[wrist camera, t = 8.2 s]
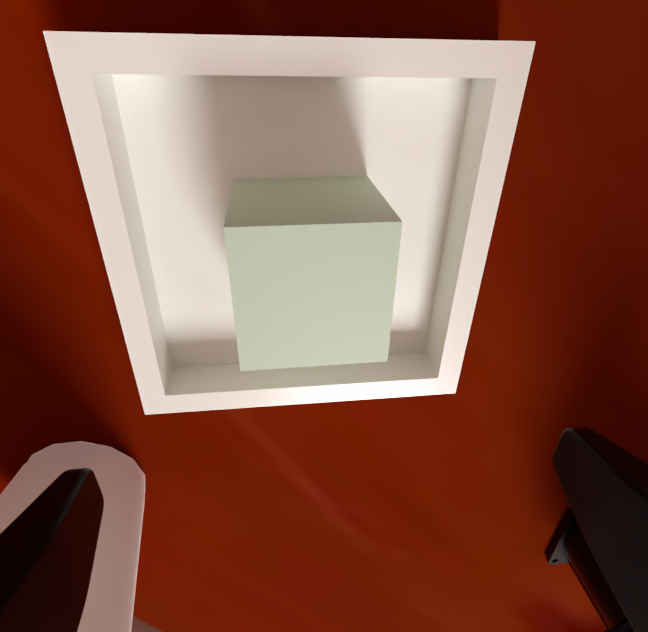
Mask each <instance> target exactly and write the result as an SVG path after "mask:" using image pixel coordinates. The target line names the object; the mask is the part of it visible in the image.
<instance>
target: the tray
mask: <svg viewBox="0 0 648 632" xmlns="http://www.w3.org/2000/svg"><path fill="white" fill-rule="evenodd" d="M43 34H44V38H45V41H46V45H47V49H48V53H49V56H50V60H51V64H52V68H53V71H54V75H55V79H56V83H57V86H58V90H59V94H60V98H61V101H62V105H63V109H64V113H65V116H66V120H67V124H68V128H69V131H70V135H71V139H72V143H73V146H74V150H75V154H76V158H77V161H78V165H79V169H80V173H81V176H82V180H83V184H84V188H85V191H86V195H87V199H88V203H89V206H90V210H91V214H92V218H93V221H94V225H95V229H96V233H97V236H98V240H99V244H100V248H101V251H102V255H103V259H104V263H105V266H106V270H107V274H108V278H109V281H110V285H111V289H112V293H113V296H114V300H115V304H116V308H117V311H118V315H119V319H120V323H121V326H122V330H123V334H124V338H125V341H126V345H127V349H128V353H129V356H130V360H131V364H132V368H133V371H134V375H135V379H136V383H137V386H138V390H139V394H140V398H141V401H142V405H143V409H144V413H145V415H147V414H162V413H176V412H191V411H206V410H220V409H235V408H249V407H264V406H278V405H293V404H307V403H322V402H336V401H351V400H365V399H380V398H394V397H409V396H423V395H438V394H452V393H456V388H457V384H458V380H459V375H460V371H461V367H462V362H463V358H464V353H465V349H466V345H467V340H468V336H469V332H470V327H471V323H472V318H473V314H474V310H475V305H476V301H477V297H478V292H479V288H480V283H481V279H482V275H483V270H484V266H485V262H486V257H487V253H488V248H489V244H490V240H491V235H492V231H493V227H494V222H495V218H496V213H497V209H498V205H499V200H500V196H501V192H502V187H503V183H504V178H505V174H506V170H507V165H508V161H509V157H510V152H511V148H512V144H513V139H514V135H515V130H516V126H517V122H518V117H519V113H520V109H521V104H522V100H523V95H524V91H525V87H526V82H527V78H528V74H529V69H530V65H531V60H532V56H533V52H534V47H535V43H536V41H494V40H447V39H400V38H353V37H306V36H259V35H212V34H165V33H118V32H71V31H43ZM338 176H368V177H369V179H370V180H371V181H372V183H373V184H374V185H375V186H376V188H377V189H378V190H379V192H380V193H381V194H382V196H383V197H384V198H385V199H386V201H387V202H388V203H389V205H390V206H391V207H392V209H393V210H394V211H395V213H396V214H397V215H398V216H399V218H400V219H401V220H402V230H401V240H400V249H399V259H398V268H397V277H396V287H395V296H394V306H393V315H392V325H391V334H390V343H389V353H388V361H386V362H371V363H356V364H342V365H327V366H312V367H297V368H282V369H267V370H252V371H240V365H239V356H238V348H237V339H236V331H235V322H234V313H233V305H232V296H231V288H230V279H229V270H228V262H227V253H226V245H225V236H224V223H225V218H226V213H227V208H228V203H229V198H230V194H231V189H232V184H233V179H248V178H293V177H338Z"/></svg>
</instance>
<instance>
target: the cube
mask: <svg viewBox="0 0 648 632" xmlns="http://www.w3.org/2000/svg"><path fill="white" fill-rule="evenodd" d="M401 230H402V220H401V219H400V218H399V216H398V215H397V214H396V213H395V211H394V210H393V209H392V207H391V206H390V205H389V203H388V202H387V201H386V199H385V198H384V197H383V196H382V194H381V193H380V192H379V190H378V189H377V188H376V186H375V185H374V184H373V183H372V181H371V180H370V179H369V177H368V176H338V177H293V178H248V179H233V184H232V189H231V194H230V198H229V203H228V208H227V213H226V218H225V223H224V236H225V245H226V253H227V262H228V270H229V279H230V288H231V296H232V305H233V313H234V322H235V331H236V339H237V348H238V356H239V365H240V371H252V370H267V369H282V368H297V367H312V366H327V365H342V364H356V363H371V362H386V361H388V353H389V343H390V334H391V325H392V315H393V306H394V296H395V287H396V277H397V268H398V259H399V249H400V240H401Z"/></svg>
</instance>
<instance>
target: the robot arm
mask: <svg viewBox="0 0 648 632" xmlns="http://www.w3.org/2000/svg"><path fill="white" fill-rule="evenodd" d="M553 465H554V468H555V471H556V473H557V476H558V478H559V480H560V483H561V485H562V487H563V490H564V492H565V494H566V497H567V499H568V501H569V504H570V506H571V510H570V511H569V512H568V513H567V515H566V517H565V519H564V521H563V523H562V525H561V527H560V529H559V531H558V534H557V536H556V538H555V540H554V542H553V544H552V546H551V548H550V550H549V552H548V554H547V556H546V559H547V561H548V563H549V564H551V565H553V564H562V563H569V565H570V566H571V568H572V570H573V572H574V573H575V575H576V577H577V578H578V580H579V582H580V584H581V585H582V587H583V589H584V590H585V592H586V594H587V596H588V597H589V599H590V601H591V602H592V604H593V606H594V608H595V609H596V611H597V613H598V614H599V616H600V618H601V619H602V621H603V623H604V625H605V626H606V628H607V630H606V631H604V632H648V463H646V462H644V461H643V460H641V459H640V458H638V457H636V456H635V455H633V454H631V453H630V452H628V451H626V450H625V449H623V448H621V447H620V446H618V445H617V444H615V443H613V442H612V441H610V440H608V439H607V438H605V437H603V436H602V435H600V434H599V433H597V432H595V431H594V430H592V429H590V428H588V427H572V428H567V429H565V430H564V431H563V433H562V435H561V437H560V440H559V442H558V444H557V447H556V449H555V451H554V454H553ZM103 509H104V498H103V494H102V492H101V489H100V487H99V484H98V481H97V479H96V476H95V474H94V472H93V470H92V469H90V468H78V469H69V470H66V471H64V472H63V473H62V474H61V475H60V476H59V477H57V478H56V479H55V480H54V481H53V482H52V483H51V484H50V485H49V486H48V487H47V488H46V489H45V490H44V491H43V492H42V493H41V494H40V495H39V496H38V497H37V498H36V499H35V500H34V501H33V502H32V503H31V504H30V505H29V506H28V507H27V508H26V509H25V510H24V511H23V512H22V513H21V514H20V515H19V516H18V517H17V518H16V519H15V520H14V521H13V522H12V523H11V524H10V525H9V526H8V527H7V528H6V529H4V530H3V531H2V532H1V533H0V632H77V630H78V627H79V623H80V620H81V617H82V613H83V610H84V606H85V602H86V598H87V594H88V589H89V584H90V579H91V574H92V568H93V563H94V558H95V552H96V547H97V542H98V536H99V531H100V525H101V520H102V515H103Z"/></svg>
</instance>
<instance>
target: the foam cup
mask: <svg viewBox="0 0 648 632" xmlns="http://www.w3.org/2000/svg"><path fill="white" fill-rule="evenodd" d="M78 468H90V469H92V470H93V472H94V474H95V476H96V479H97V481H98V484H99V487H100V489H101V492H102V494H103V498H104V509H103V515H102V520H101V525H100V531H99V536H98V542H97V547H96V552H95V558H94V563H93V568H92V574H91V579H90V584H89V589H88V594H87V598H86V602H85V606H84V610H83V613H82V617H81V620H80V623H79V627H78V630H77V632H131V628H132V619H133V609H134V599H135V589H136V580H137V570H138V560H139V550H140V541H141V531H142V521H143V511H144V494H145V474H144V473H143V471H142V470H141V469H140V467H139V466H138V465H137V463H136V462H135V461H134V459H133V458H131V457H129V456H127V455H125V454H123V453H122V452H120V451H118V450H116V449H114V448H112V447H110V446H105V445H100V444H95V443H90V442H84V441H76V442H67V443H57V444H52V445H50V446H48V447H46V448H44V449H42V450H40V451H38V452H36V453H34V454H32V455H31V457H30V458H29V460H28V462H27V463H25V464H24V465H23V466H22V467H21V469H20V470H19V471H18V473H17V474H16V475H15V477H14V478H13V479H12V480H11V482H10V483H9V484H8V486H7V487H6V488H5V490H4V491H3V492H2V494H1V495H0V533H1V532H2V531H3V530H4V529H6V528H7V527H8V526H9V525H10V524H11V523H12V522H13V521H14V520H15V519H16V518H17V517H18V516H19V515H20V514H21V513H22V512H23V511H24V510H25V509H26V508H27V507H28V506H29V505H30V504H31V503H32V502H33V501H34V500H35V499H36V498H37V497H38V496H39V495H40V494H41V493H42V492H43V491H44V490H45V489H46V488H47V487H48V486H49V485H50V484H51V483H52V482H53V481H54V480H55V479H56V478H57V477H59V476H60V475H61V474H62V473H63V472H64V471H66V470H69V469H78Z"/></svg>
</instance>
